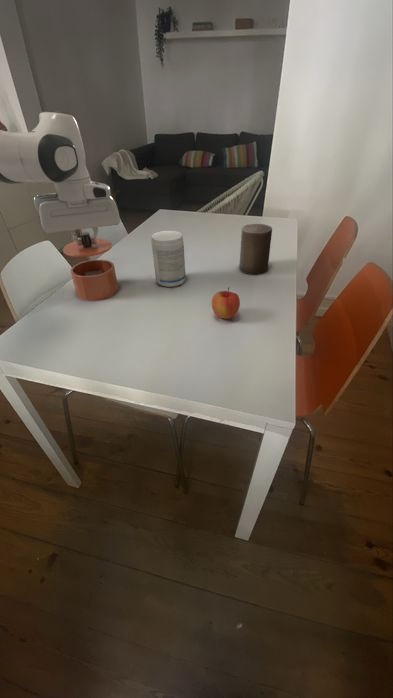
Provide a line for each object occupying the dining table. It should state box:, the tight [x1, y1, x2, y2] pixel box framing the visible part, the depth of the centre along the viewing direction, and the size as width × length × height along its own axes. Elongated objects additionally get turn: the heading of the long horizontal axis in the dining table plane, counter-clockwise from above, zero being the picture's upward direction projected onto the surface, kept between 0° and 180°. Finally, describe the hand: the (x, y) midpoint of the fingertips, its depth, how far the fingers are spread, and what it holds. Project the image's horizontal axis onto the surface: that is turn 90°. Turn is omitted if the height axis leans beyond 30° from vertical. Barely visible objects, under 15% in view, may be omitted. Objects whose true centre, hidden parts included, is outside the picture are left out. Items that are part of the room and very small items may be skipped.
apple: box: [210, 286, 241, 320], centre depth 82 cm, size 7×7×8 cm
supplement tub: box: [150, 230, 186, 288], centre depth 98 cm, size 10×10×15 cm
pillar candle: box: [239, 223, 273, 275], centre depth 104 cm, size 10×10×15 cm
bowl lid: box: [62, 232, 113, 258], centre depth 89 cm, size 13×13×5 cm
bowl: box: [70, 259, 119, 301], centre depth 96 cm, size 12×12×8 cm
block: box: [85, 270, 102, 276], centre depth 96 cm, size 5×5×5 cm
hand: (87, 244), depth 89 cm, fingers closed on bowl lid, 2 cm apart
